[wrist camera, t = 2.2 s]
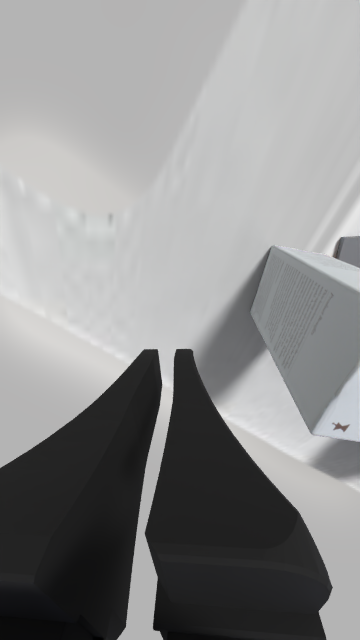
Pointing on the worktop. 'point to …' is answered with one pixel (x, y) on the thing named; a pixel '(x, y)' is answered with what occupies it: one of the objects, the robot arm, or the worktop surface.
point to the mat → (349, 250)
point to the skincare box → (314, 336)
